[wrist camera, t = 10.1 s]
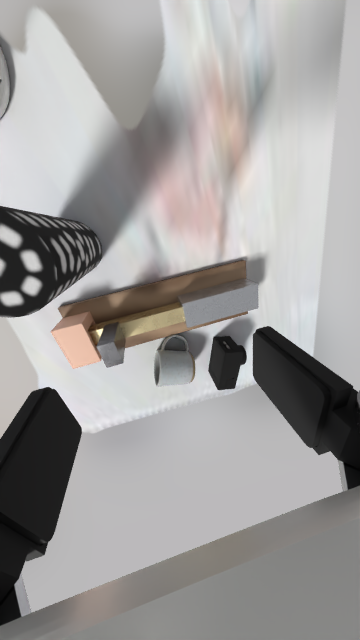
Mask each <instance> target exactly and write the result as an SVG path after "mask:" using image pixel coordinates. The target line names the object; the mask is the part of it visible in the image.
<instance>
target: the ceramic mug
mask: <svg viewBox="0 0 360 640" xmlns="http://www.w3.org/2000/svg"><path fill="white" fill-rule="evenodd" d="M172 337H174V338H178V339H180V340H183V341H184V343H185V351H173V350H164V348H165V345H166V343H167V341H168V340H169V339H171V338H172ZM194 376H195V361H194V358H193V356H192V354H191V353H189V352H188V343H187V341H186V339H185V338H184V337H182V336H180V335H170V336H168V337H167V338H166V339H165V340H164V342H163V345H162V348H161V350H157V351H156V355H155V361H154V377H155V383H156V385H157V386H158V387H159V386H169V385H181V384H187V383H190V382H192V381H193V379H194Z"/></svg>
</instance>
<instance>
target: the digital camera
mask: <svg viewBox="0 0 360 640" xmlns="http://www.w3.org/2000/svg"><path fill="white" fill-rule="evenodd" d="M217 340H218V341H217ZM246 359H247V356H246V351H245V349H244V347H243V346H241V345H237V344H236V343H235V342H234V341H233V339H232V338H231V337H230V336H222V337H214V338H213V344H212V350H211V357H210V363H209V370H208V371H209V373H210V375H211V377H212V379H213V381H214V383H215V385H216V387H217V389H218V390H225V389H234V388H235V386H236V381H237V377H238V373H239V369H240V365H244V364H245V362H246Z"/></svg>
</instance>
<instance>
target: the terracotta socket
mask: <svg viewBox="0 0 360 640" xmlns="http://www.w3.org/2000/svg"><path fill="white" fill-rule="evenodd" d="M94 324H95V322H94V319H93V317H92V315H91V313H90V311H88V312H84V313H80V314H77V315H73V316H69V317H65V318H63V319H62V320H61V321H60V322H59V323H58V324H57V325H56V326H55V327H54V328H53V330H52V331H51V333H52V335H53V337H54V338H55V340H56V341H57V343H58V345H59V346H60V348H61V350H62V351H63V353H64V355H65V356H66V358H67V360H68V361H69V363H70V365H71V366H72V368H73V369H75V368H78V367H82V366H85V365H89V364H92V363H96V362H99V361H101V358H102V357H101V355H100V353H99V351H98V349H97V346H95V345H94V343H93V341H92V339H91V337H90V335H89V332H88V329H89V327H90V326H91V325H94Z"/></svg>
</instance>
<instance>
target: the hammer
mask: <svg viewBox="0 0 360 640" xmlns="http://www.w3.org/2000/svg"><path fill="white" fill-rule="evenodd" d="M184 321H185V317H184V312H183V308H182V305H181V303H180V302H177V303H173V304H169V305H166V306H162V307H158V308H154V309H151V310H147V311H143V312H139V313H136V314H132V315H128V316H124V317H121V318H117V319H113V320H109V321H106V322H102V323H98V324H94V325H91V326H90V327H89V329H88V332H89V335H90V337H91V339H92V341H93V343H94V345H95V346H97V349H98V351H99V353H100V355H101V357H102V359H103V361H104V363H105V365H106V367H107V368H108V367H111V366H115V365H118V364H122V363H123V359H124V351H125V343H126V339H125V338H127V337H130V336H134V335H137V334H141V333H145V332H148V331H152V330H155V329H159V328H163V327H166V326H170V325H174V324H177V323H181V322H184Z"/></svg>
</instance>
